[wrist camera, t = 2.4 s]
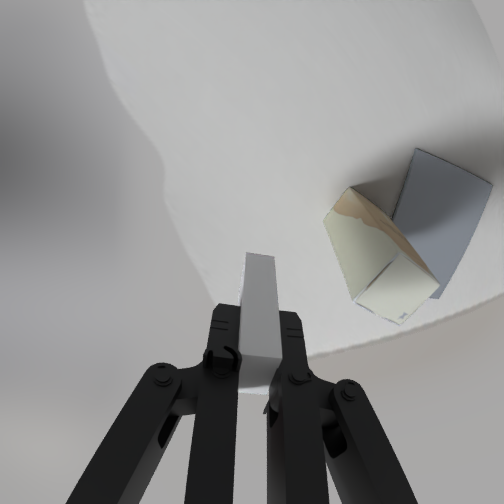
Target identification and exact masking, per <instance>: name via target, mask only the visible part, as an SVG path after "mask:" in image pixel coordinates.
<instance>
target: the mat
mask: <svg viewBox="0 0 504 504" xmlns="http://www.w3.org/2000/svg"><path fill="white" fill-rule="evenodd" d="M492 187H493V185H491V184H490V183H488V182H486V181H484V180H482V179H480V178H479V177H477V176H475V175H473V174H471V173H469V172H467V171H465V170H463V169H461V168H459V167H457V166H455V165H453V164H451V163H448V162H446V161H444V160H442V159H440V158H437V157H435V156H433V155H430V154H428V153H426V152H423V151H421V150H418V149H416V148H415V152H414V155H413V159H412V162H411V165H410V168H409V172H408V175H407V178H406V181H405V184H404V187H403V190H402V193H401V196H400V198H399V201H398V204H397V207H396V209H395V212H394V215H393V217H392V222H393V223H394V224H395V225H396V226H397V228H398V229H399V230H400V231H401V233H402V234H403V235H404V236H405V238H406V239H407V240H408V241H409V243H410V244H411V245H412V247H413V248H414V249H415V250H416V252H417V253H418V254H419V256H420V257H421V258H422V260H423V261H424V262H425V264H426V265H427V267H428V268H429V269H430V271H431V272H432V273H433V275H434V276H435V278H436V279H437V280H438V282H439V283H440V286H439V287H438V288H437V289H436V290H435V292H434V293H433V294H432V295H431V296H430V297H429V298H433V299H439V298H440V296H441V294H442V293H443V291H444V289H445V288H446V286H447V284H448V282H449V281H450V279H451V277H452V275H453V274H454V272H455V270H456V268H457V266H458V264H459V262H460V261H461V259H462V257H463V255H464V253H465V251H466V249H467V247H468V245H469V242H470V240H471V238H472V236H473V234H474V232H475V229H476V227H477V225H478V223H479V220H480V218H481V216H482V213H483V211H484V208H485V206H486V203H487V200H488V198H489V195H490V192H491V190H492Z"/></svg>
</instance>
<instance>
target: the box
mask: <svg viewBox="0 0 504 504" xmlns="http://www.w3.org/2000/svg"><path fill="white" fill-rule="evenodd" d="M323 223H324V226H325V228H326V231H327V233H328V236H329V238H330V241H331V243H332V246H333V249H334V251H335V254H336V257H337V259H338V262H339V265H340V267H341V270H342V273H343V275H344V278H345V281H346V284H347V287H348V290H349V293H350V295H351V298H352V302H353V303H354V304H356V305H358V306H360V307H361V308H363V309H365V310H367V311H369V312H371V313H373V314H375V315H377V316H379V317H381V318H383V319H385V320H387V321H389V322H391V323H394V324H396V325H398V326H400V325H402V324H403V323H404V322H405V321H406V320H407V319H408V318H409V317H410V316H411V315H412V314H413V313H414V312H415V311H416V310H417V309H418V308H419V307H420V306H421V305H422V304H423V303H424V302H425V301H426V300H427V299H428V298H429V297H430V296H431V295H432V294H433V293H434V292H435V290H436V289H437V288H438V287H439V286H440V283H439V282H438V280H437V279H436V278H435V276H434V275H433V273H432V272H431V271H430V269H429V268H428V267H427V265H426V264H425V262H424V261H423V260H422V258H421V257H420V256H419V254H418V253H417V252H416V250H415V249H414V248H413V247H412V245H411V244H410V243H409V241H408V240H407V239H406V238H405V236H404V235H403V234H402V233H401V231H400V230H399V229H398V228H397V226H396V225H395V224H394V223H393V222H392V220H391V219H390V218H389V217H388V216H387V214H386V213H384V212H383V211H382V210H381V209H380V208H378V207H377V206H376V205H374V204H373V203H372V202H370V201H369V200H368V199H366V198H365V197H364V196H362V195H361V194H360V193H358V192H357V191H355V190H354V189H352V188H351V187H349V188H348V189H347V190H346V191H345V192H344V194H343V195H342V196H341V198H340V199H339V200H338V201H337V203H336V204H335V205H334V207H333V208H332V209H331V211H330V212H329V213H328V215H327V216H326V217H325V219H324V220H323Z"/></svg>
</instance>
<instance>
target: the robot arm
mask: <svg viewBox="0 0 504 504" xmlns="http://www.w3.org/2000/svg"><path fill="white" fill-rule="evenodd" d="M268 391H269V401H268V402H267V405H266V407H265V409H264V412H263V414H266V412H267V504H329V494H328V483H327V471H326V463H327V466H328V468H329V471H330V474H331V476H332V479H333V482H334V484H335V487H336V489H337V492H338V495H339V497H340V499H341V502H342V504H418V503H417V500H416V498H415V496H414V493H413V491H412V489H411V487H410V485H409V482H408V480H407V478H406V476H405V474H404V471H403V469H402V467H401V465H400V463H399V461H398V459H397V457H396V454H395V452H394V451H393V448H392V446H391V444H390V442H389V440H388V438H387V436H386V434H385V432H384V430H383V428H382V426H381V424H380V422H379V419H378V418H377V416H376V414H375V411H374V410H373V408H372V406H371V404H370V402H369V400H368V398H367V396H366V394H365V392H364V390H363V388H362V387H361V386H360V384H358V383H357V382H355V381H353V380H350V379H343V380H341V381H339V382H337V384H334V383H331V382H328V381H324V380H322V379H320V378H318V377H317V376H315V375H314V374H313V372H312V371H311V370H310V369H309V367H308V362H307V355H306V348H305V341H304V335H303V328H302V322H301V319H300V318H299V316H298V315H297V313H296V312H288V311H279V307H278V294H277V283H276V271H275V260H274V256H268V255H261V254H254V253H247V252H246V255H245V261H244V266H243V272H242V278H241V283H240V289H239V298H238V306H235V305H227V304H221V303H219V304H218V305H217V306H216V308H215V309H214V310H213V314H212V320H211V326H210V332H209V338H208V343H207V349H206V350H205V352H204V354H203V361H202V362H201V363H199V364H198V365H196V366H194V367H190V368H184V369H177V368H176V367H175V366H173V365H171V364H168V363H156V364H154V365H152V366H150V367H149V368H148V369H147V370H146V372H145V373H144V375H143V377H142V378H141V380H140V381H139V383H138V385H137V386H136V388H135V389H134V391H133V392H132V394H131V396H130V397H129V399H128V400H127V402H126V403H125V405H124V407H123V408H122V410H121V411H120V413H119V415H118V416H117V418H116V420H115V421H114V423H113V425H112V426H111V428H110V429H109V431H108V433H107V434H106V436H105V437H104V439H103V441H102V442H101V444H100V446H99V447H98V449H97V451H96V452H95V454H94V456H93V458H92V459H91V461H90V462H89V464H88V466H87V467H86V469H85V471H84V473H83V474H82V476H81V478H80V479H79V481H78V483H77V484H76V486H75V488H74V490H73V492H72V493H71V495H70V497H69V498H68V500H67V502H66V504H139V502H140V500H141V498H142V496H143V494H144V492H145V490H146V488H147V486H148V484H149V482H150V480H151V478H152V476H153V474H154V472H155V470H156V468H157V466H158V464H159V462H160V460H161V458H162V456H163V454H164V452H165V450H166V448H167V446H168V444H169V442H170V440H171V438H172V435H173V433H174V431H175V429H176V427H177V425H178V423H179V421H180V419H181V417H182V416H183V415H190V414H195V421H194V429H193V436H192V444H191V451H190V459H189V467H188V475H187V483H186V493H185V501H184V504H233V487H234V465H235V444H236V443H235V442H236V424H237V405H238V392H241V393H252V394H264V395H267V393H268Z"/></svg>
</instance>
